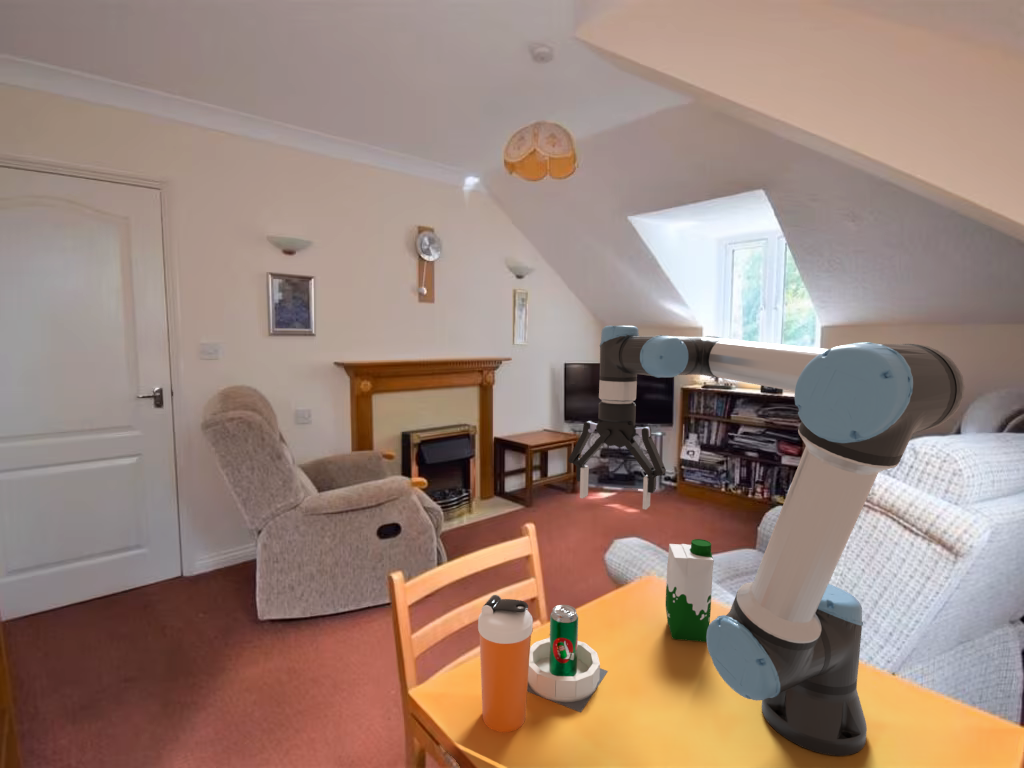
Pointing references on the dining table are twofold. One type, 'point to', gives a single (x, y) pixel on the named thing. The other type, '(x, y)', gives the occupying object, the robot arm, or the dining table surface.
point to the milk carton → (689, 590)
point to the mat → (577, 704)
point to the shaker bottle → (504, 662)
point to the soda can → (563, 641)
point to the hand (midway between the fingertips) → (614, 502)
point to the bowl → (563, 685)
